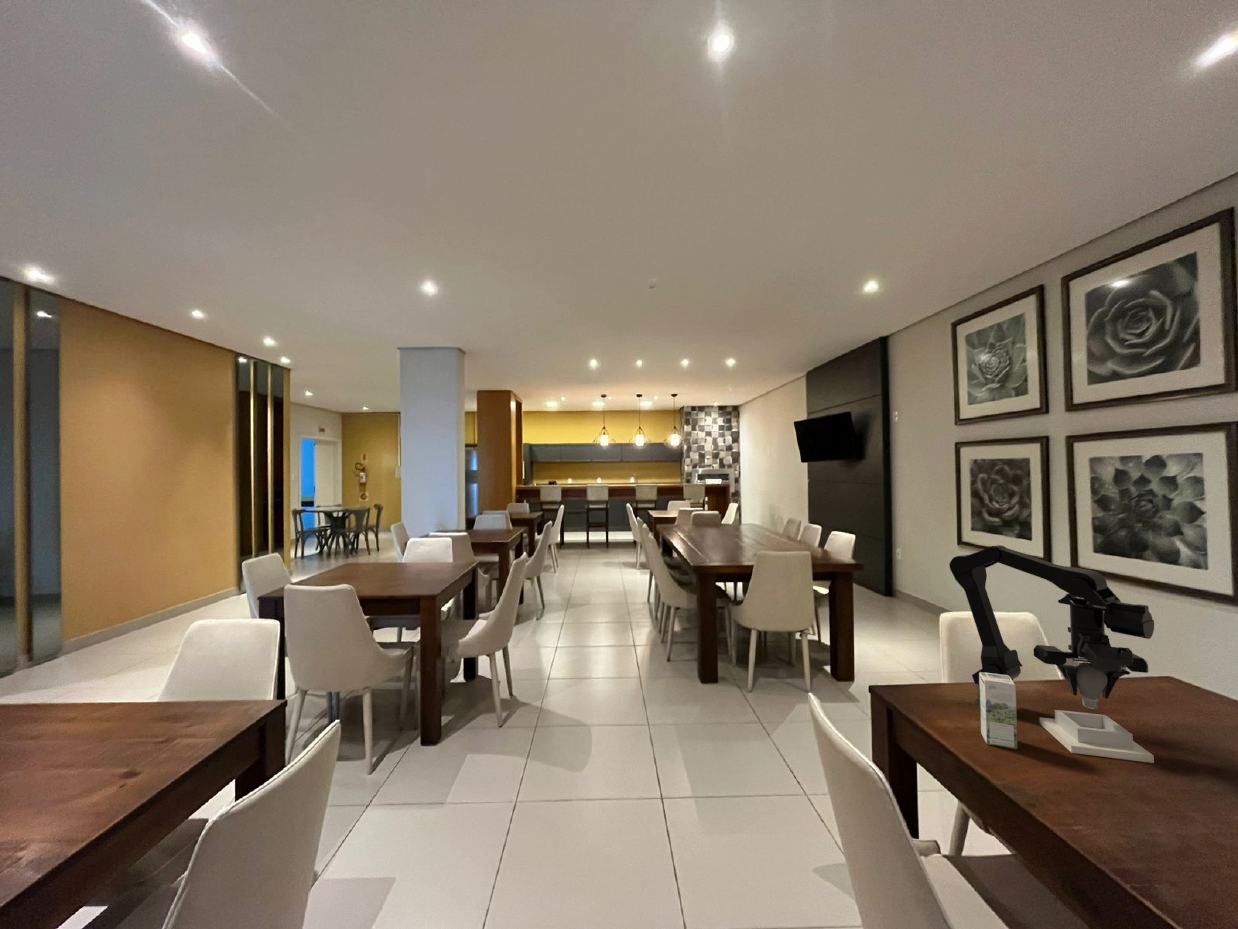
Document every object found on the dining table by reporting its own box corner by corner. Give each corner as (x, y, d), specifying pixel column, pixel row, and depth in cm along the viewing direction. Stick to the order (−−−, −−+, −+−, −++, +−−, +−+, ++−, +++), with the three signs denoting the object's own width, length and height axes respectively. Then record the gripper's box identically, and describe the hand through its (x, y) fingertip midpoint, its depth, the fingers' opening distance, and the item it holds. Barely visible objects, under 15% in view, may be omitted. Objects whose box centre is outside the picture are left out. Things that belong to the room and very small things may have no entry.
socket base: (1071, 752, 109) (1070, 731, 110) (1039, 723, 123) (1039, 704, 123) (1153, 763, 105) (1152, 741, 105) (1111, 731, 119) (1110, 712, 119)
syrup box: (1010, 738, 116) (1008, 674, 116) (1018, 751, 110) (1015, 683, 111) (980, 733, 118) (978, 670, 119) (986, 745, 113) (984, 679, 113)
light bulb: (1093, 702, 117) (1092, 659, 118) (1116, 714, 111) (1114, 668, 112) (1065, 701, 118) (1064, 658, 118) (1086, 713, 112) (1085, 667, 112)
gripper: (1056, 633, 110) (1058, 706, 110) (1165, 641, 105) (1168, 718, 104) (1031, 620, 121) (1033, 686, 120) (1129, 626, 115) (1132, 696, 115)
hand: (1089, 696), depth 115 cm, fingers closed on light bulb, 5 cm apart
